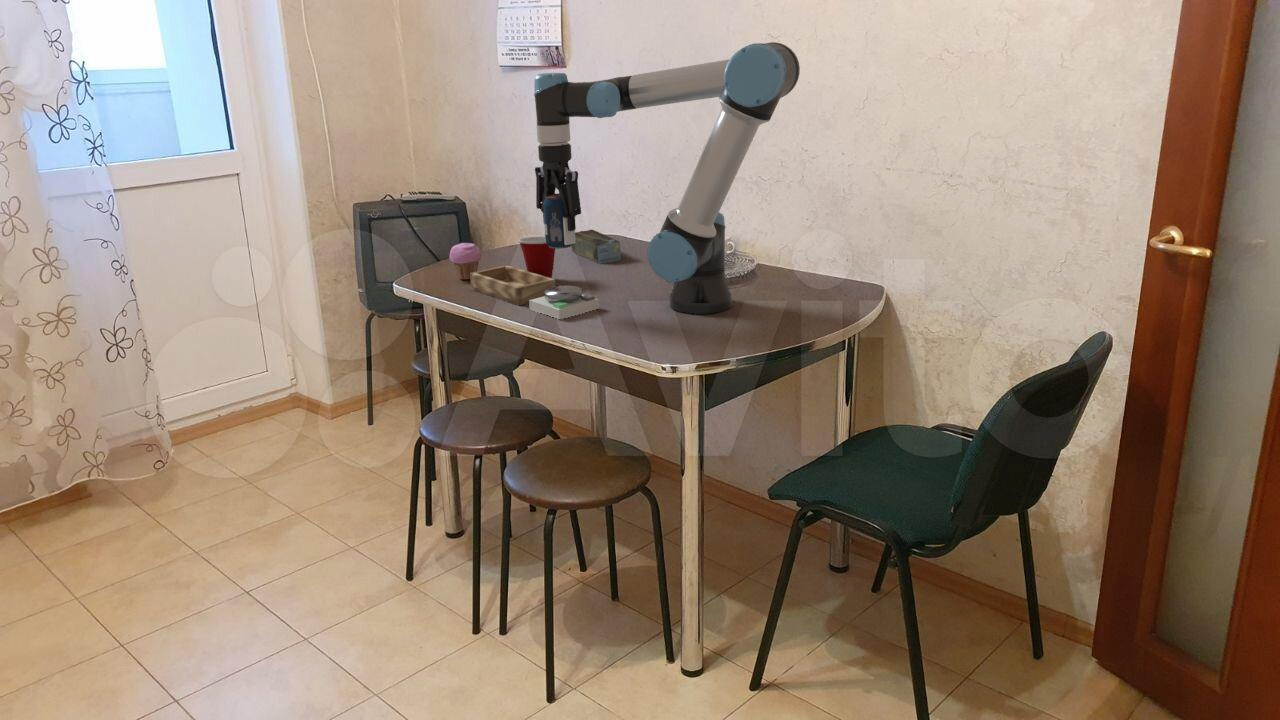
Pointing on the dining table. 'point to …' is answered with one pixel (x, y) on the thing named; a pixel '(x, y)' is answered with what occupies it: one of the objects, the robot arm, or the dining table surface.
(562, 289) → the shiny metal disc
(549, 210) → the soda can
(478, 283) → the trough
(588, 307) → the white flat block
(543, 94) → the robot arm
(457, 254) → the cupcake
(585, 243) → the beverage carton
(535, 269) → the plastic cup
